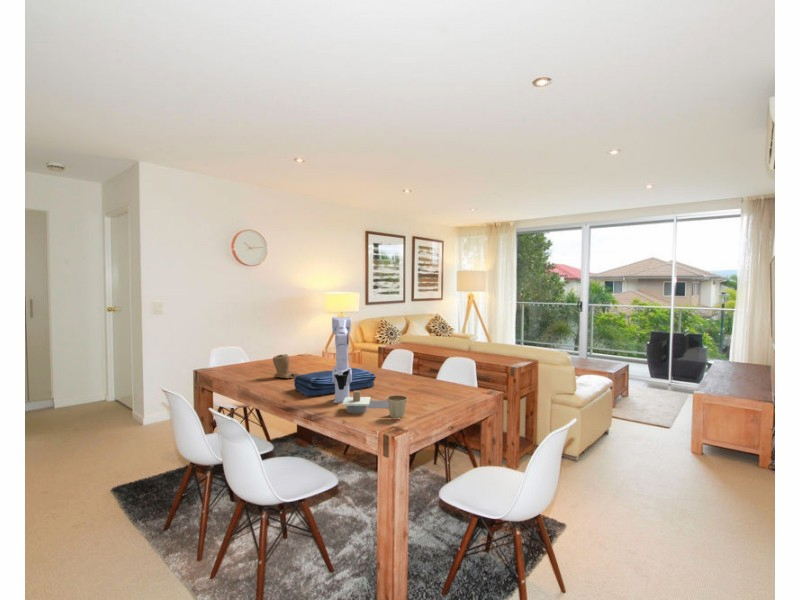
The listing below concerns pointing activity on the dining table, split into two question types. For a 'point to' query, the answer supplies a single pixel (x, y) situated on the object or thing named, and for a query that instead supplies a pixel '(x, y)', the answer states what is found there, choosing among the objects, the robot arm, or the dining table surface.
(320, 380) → the towel
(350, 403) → the lid
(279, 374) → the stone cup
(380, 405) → the mat
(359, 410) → the bowl
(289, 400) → the dining table surface
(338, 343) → the robot arm
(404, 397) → the flower pot
